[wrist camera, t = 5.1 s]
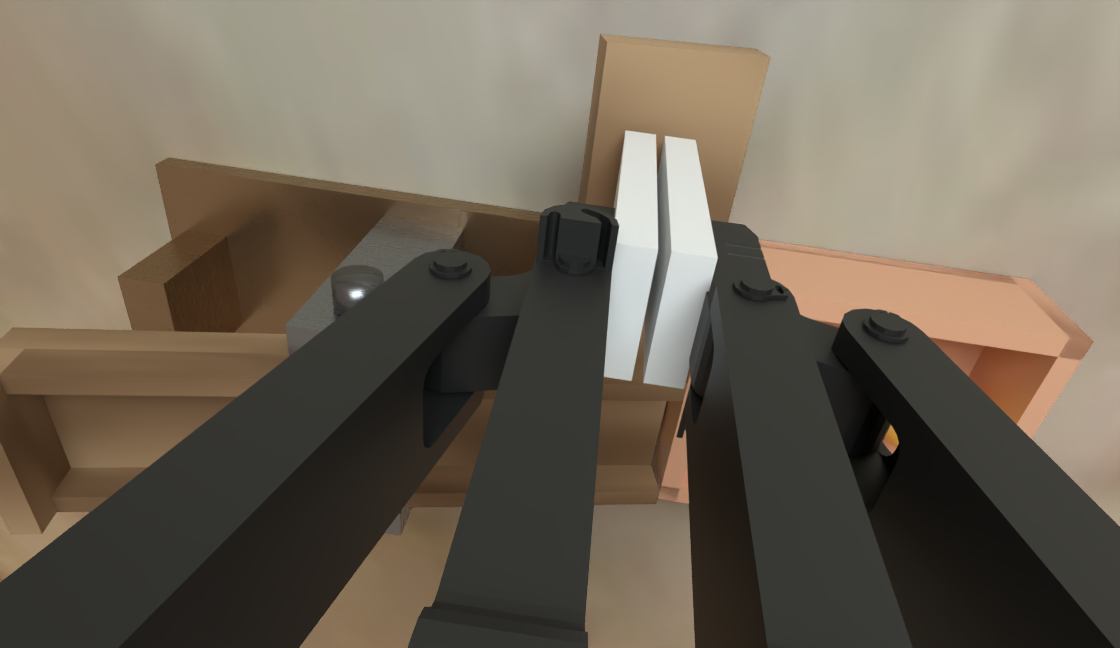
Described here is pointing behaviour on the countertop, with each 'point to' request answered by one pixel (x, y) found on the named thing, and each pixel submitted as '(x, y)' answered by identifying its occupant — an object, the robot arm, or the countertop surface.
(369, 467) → the robot arm
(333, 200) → the lever stand
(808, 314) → the dish
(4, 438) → the lever
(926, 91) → the countertop surface
